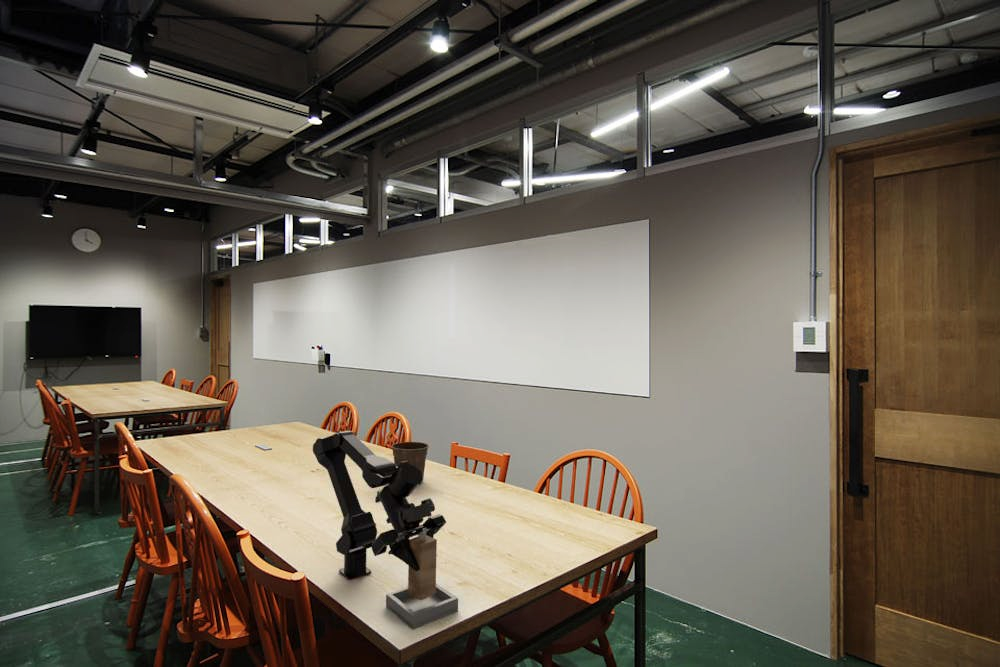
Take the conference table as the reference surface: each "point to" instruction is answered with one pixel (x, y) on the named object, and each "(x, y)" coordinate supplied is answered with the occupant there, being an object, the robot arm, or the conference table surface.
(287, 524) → the conference table surface
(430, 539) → the block
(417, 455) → the plant pot
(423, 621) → the tray
